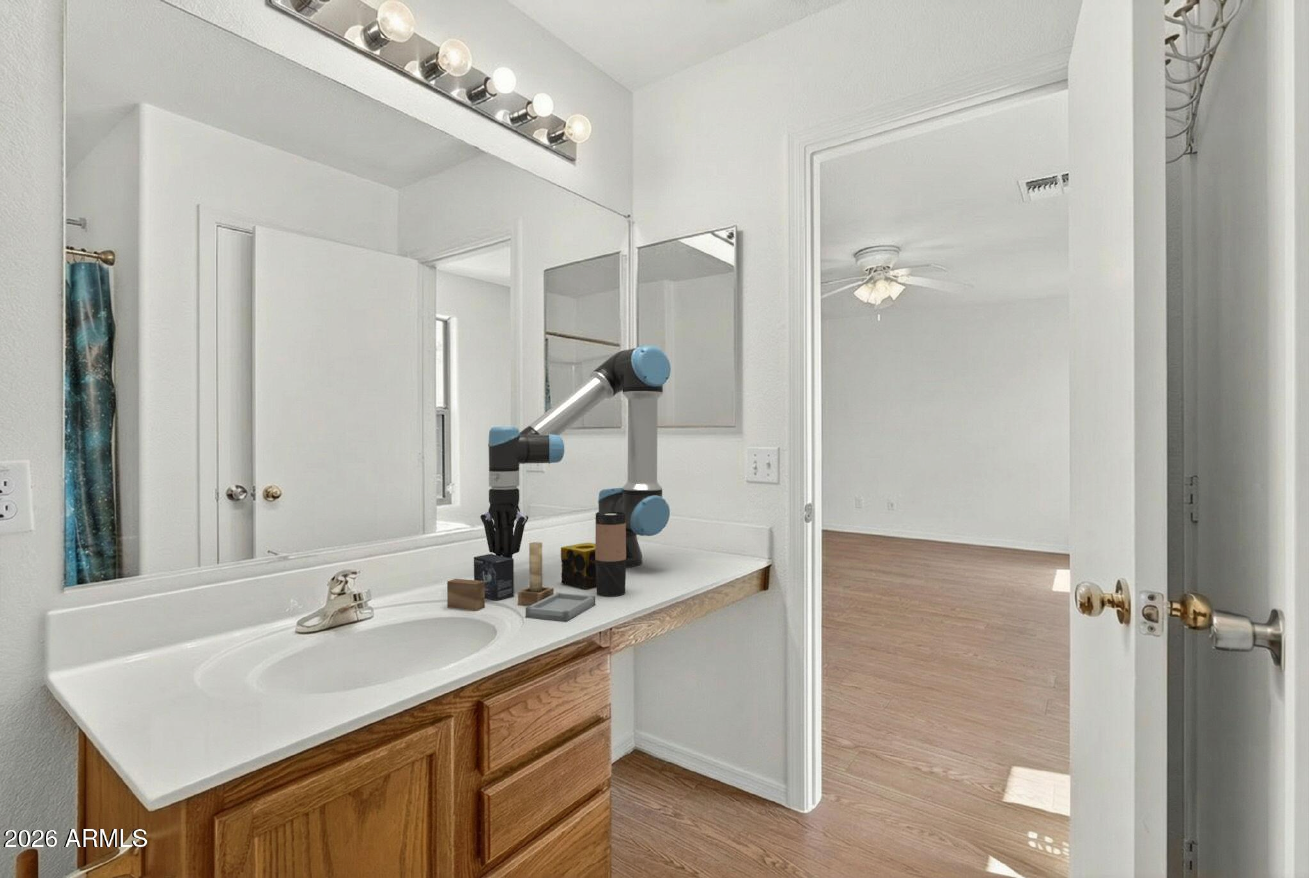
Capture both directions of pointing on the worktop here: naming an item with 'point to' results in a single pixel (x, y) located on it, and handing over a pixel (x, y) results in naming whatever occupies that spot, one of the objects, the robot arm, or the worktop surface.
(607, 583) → the travel mug
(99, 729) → the worktop surface
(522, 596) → the socket
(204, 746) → the worktop surface
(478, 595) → the wooden block
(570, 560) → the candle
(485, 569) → the box
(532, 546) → the dowel
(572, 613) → the tray
